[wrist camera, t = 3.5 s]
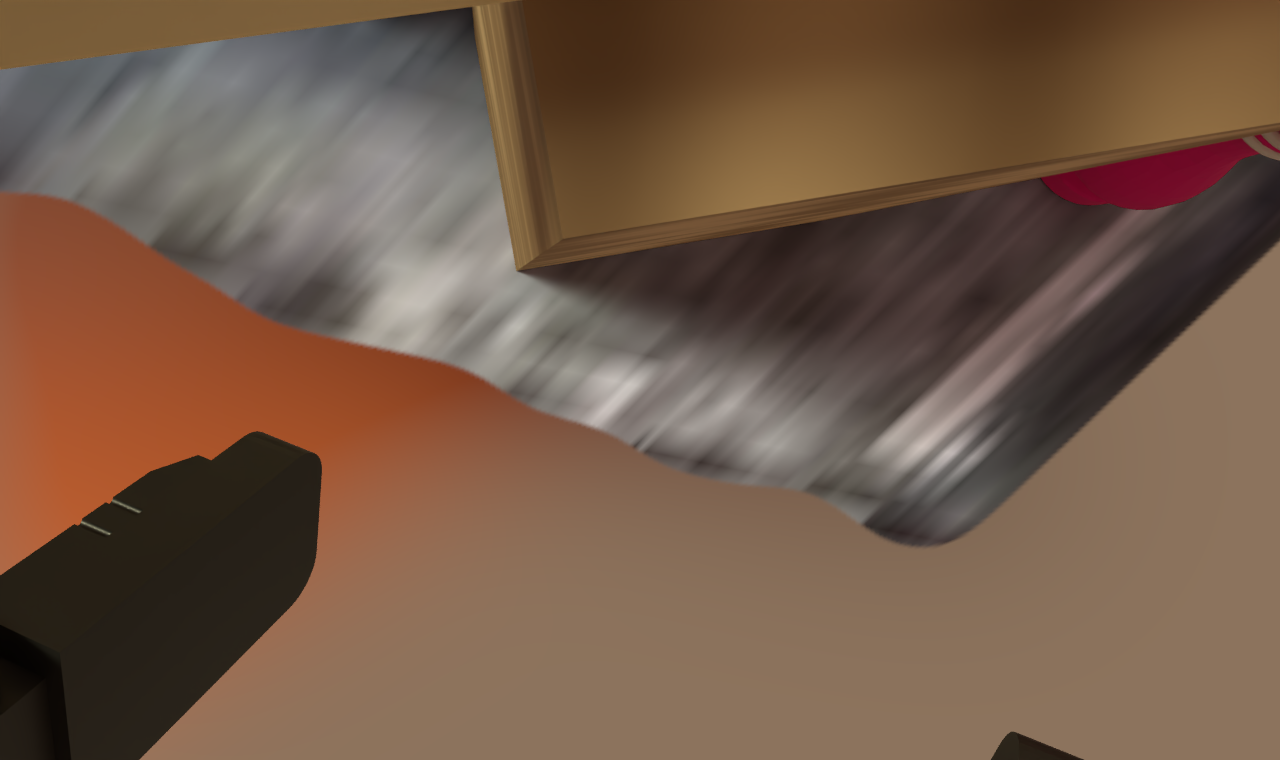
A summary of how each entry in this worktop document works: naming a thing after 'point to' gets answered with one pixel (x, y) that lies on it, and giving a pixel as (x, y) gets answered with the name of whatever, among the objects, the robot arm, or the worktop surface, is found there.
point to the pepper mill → (1160, 174)
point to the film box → (174, 23)
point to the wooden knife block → (840, 105)
